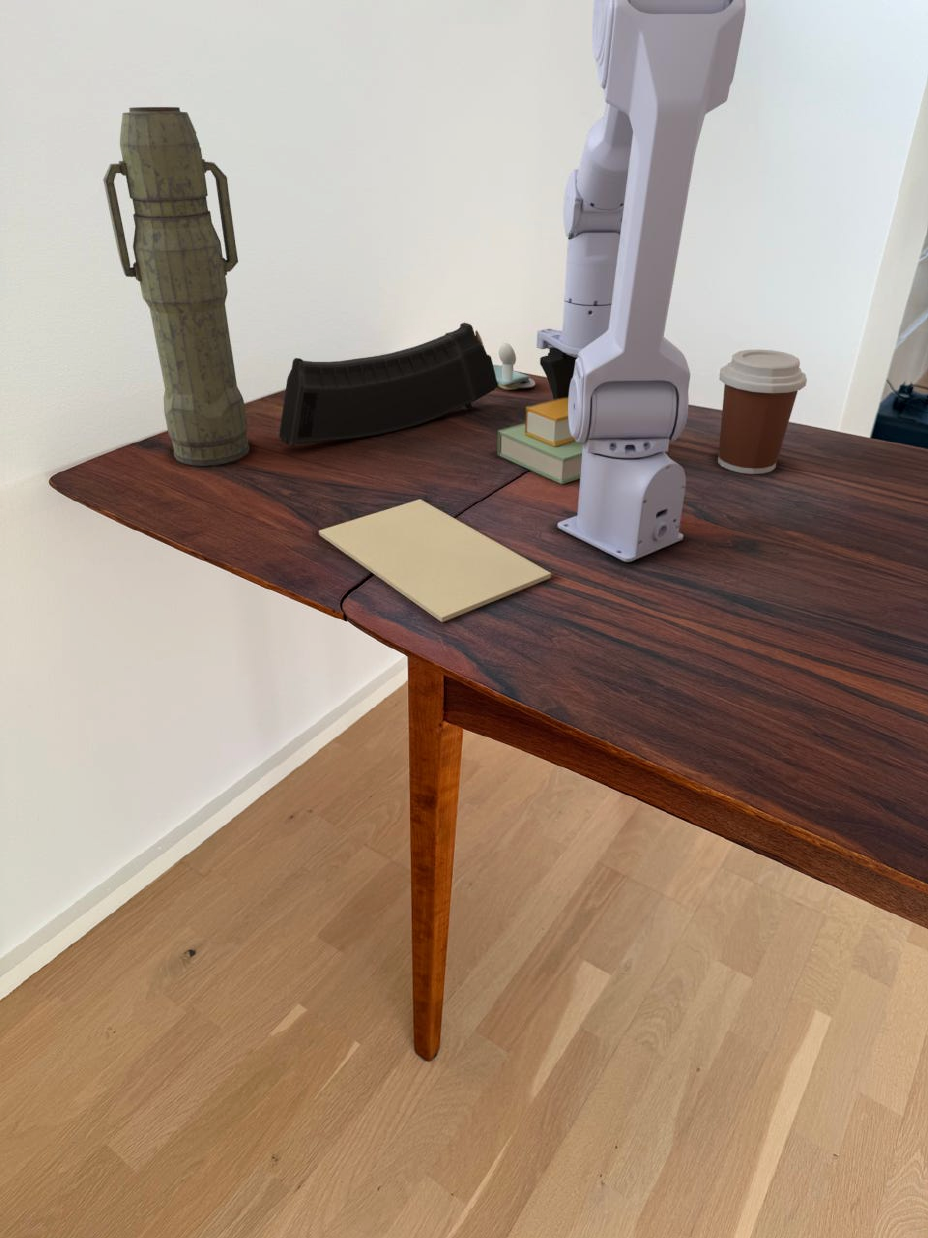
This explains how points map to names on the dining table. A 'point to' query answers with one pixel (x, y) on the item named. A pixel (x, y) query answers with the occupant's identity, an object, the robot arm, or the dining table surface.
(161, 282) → the green canister
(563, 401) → the pocket book
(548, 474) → the hardback
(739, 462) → the coffee cup (beverage)
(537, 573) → the mat
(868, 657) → the dining table surface
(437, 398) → the magazine
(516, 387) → the pacifier
